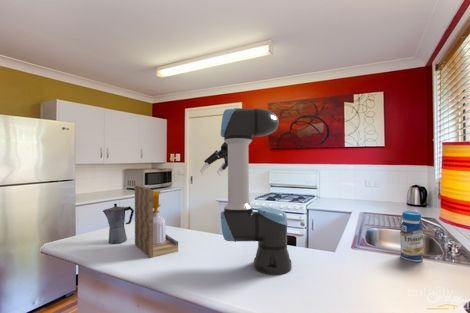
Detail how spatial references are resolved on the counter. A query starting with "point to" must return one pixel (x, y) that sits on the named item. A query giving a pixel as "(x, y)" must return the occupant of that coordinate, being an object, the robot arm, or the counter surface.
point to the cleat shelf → (149, 226)
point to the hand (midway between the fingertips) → (209, 173)
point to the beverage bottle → (411, 236)
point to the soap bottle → (158, 221)
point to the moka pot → (117, 223)
